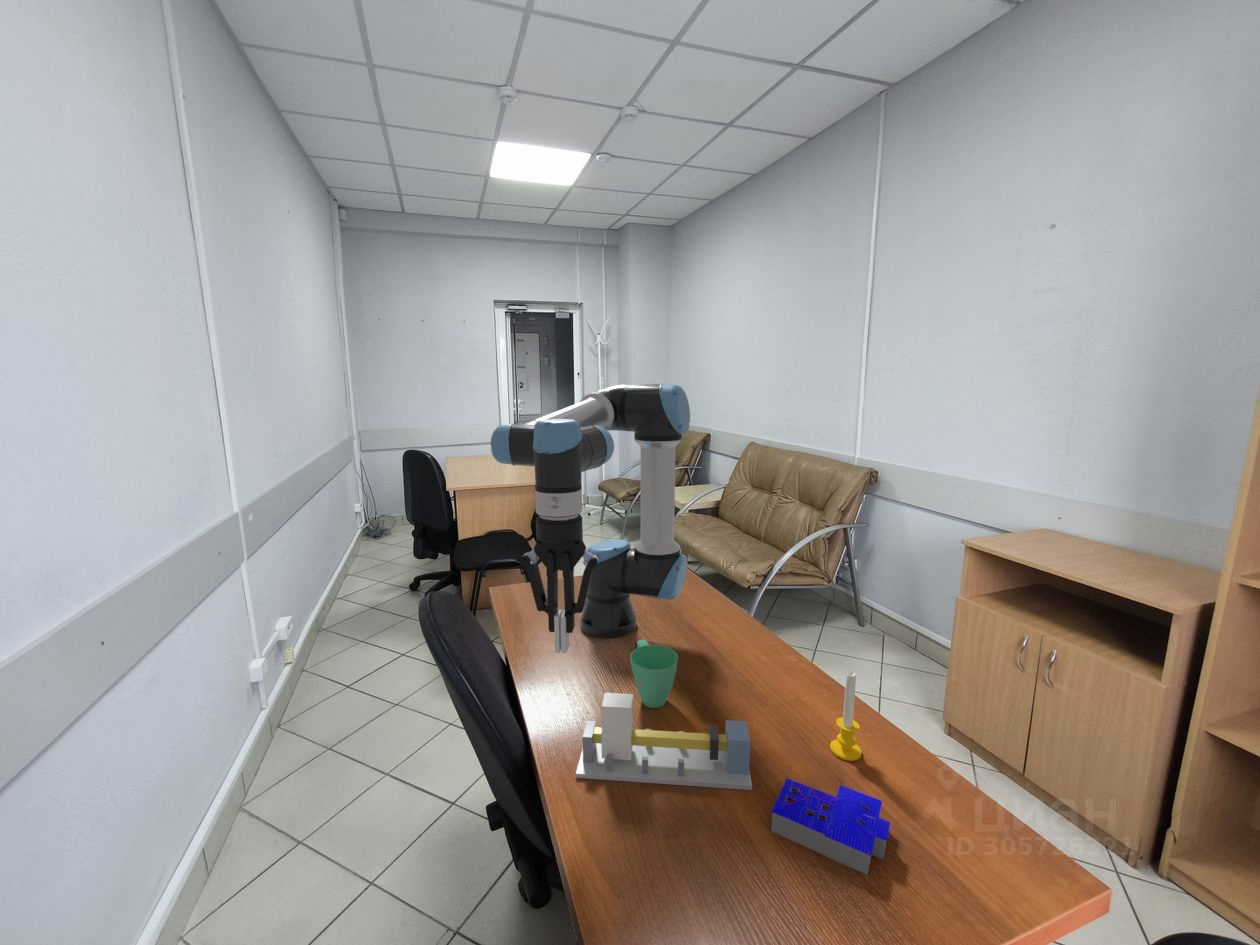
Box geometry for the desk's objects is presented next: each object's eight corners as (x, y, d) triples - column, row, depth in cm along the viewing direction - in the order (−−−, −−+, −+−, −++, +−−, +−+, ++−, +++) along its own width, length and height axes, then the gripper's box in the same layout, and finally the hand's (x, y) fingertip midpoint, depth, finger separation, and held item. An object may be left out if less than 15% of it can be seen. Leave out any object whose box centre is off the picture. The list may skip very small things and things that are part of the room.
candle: (826, 753, 94) (832, 673, 92) (834, 737, 99) (839, 660, 96) (858, 765, 91) (864, 682, 89) (864, 748, 96) (870, 669, 93)
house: (881, 884, 70) (884, 850, 69) (769, 834, 78) (771, 802, 77) (891, 826, 79) (894, 794, 78) (790, 786, 87) (792, 757, 86)
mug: (685, 710, 107) (686, 664, 105) (639, 719, 104) (639, 672, 102) (659, 672, 120) (659, 631, 119) (617, 680, 117) (617, 638, 116)
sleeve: (601, 758, 90) (601, 708, 89) (605, 738, 95) (605, 690, 94) (630, 760, 90) (630, 709, 88) (633, 740, 95) (633, 692, 93)
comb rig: (575, 777, 88) (575, 740, 87) (586, 738, 98) (585, 703, 97) (752, 790, 86) (753, 751, 85) (744, 748, 96) (746, 713, 94)
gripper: (511, 519, 83) (517, 658, 87) (596, 521, 82) (597, 662, 86) (525, 508, 90) (529, 636, 94) (603, 510, 89) (604, 640, 93)
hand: (562, 648), depth 90 cm, fingers closed
